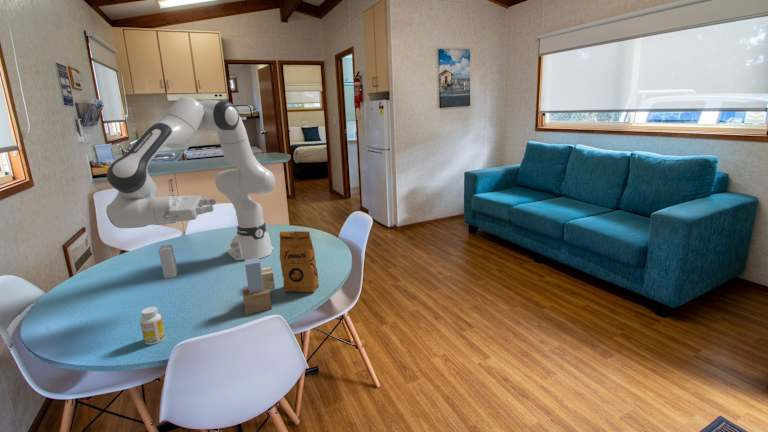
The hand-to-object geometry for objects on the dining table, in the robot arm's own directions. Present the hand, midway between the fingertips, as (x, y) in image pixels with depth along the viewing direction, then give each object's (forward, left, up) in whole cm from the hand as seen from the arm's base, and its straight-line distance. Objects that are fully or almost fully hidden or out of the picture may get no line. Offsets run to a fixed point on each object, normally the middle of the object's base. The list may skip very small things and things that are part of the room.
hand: (214, 204), depth 130 cm
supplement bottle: (+7, -27, -34) cm, 44 cm away
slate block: (+13, +3, -28) cm, 31 cm away
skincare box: (-40, -5, -34) cm, 52 cm away
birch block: (+1, +13, -34) cm, 36 cm away
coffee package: (+14, +20, -34) cm, 42 cm away
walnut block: (+13, +3, -34) cm, 36 cm away
